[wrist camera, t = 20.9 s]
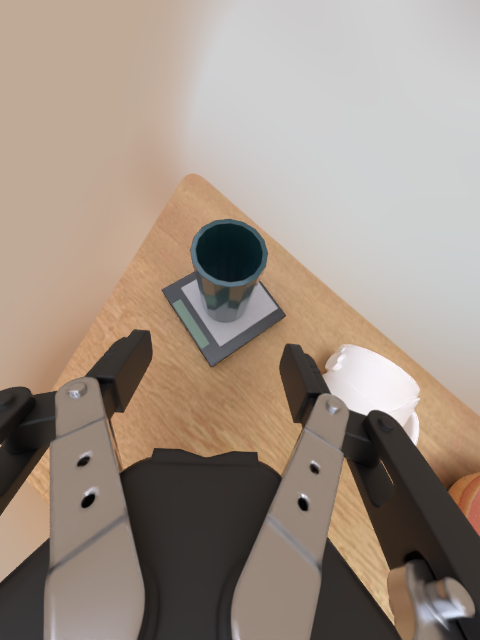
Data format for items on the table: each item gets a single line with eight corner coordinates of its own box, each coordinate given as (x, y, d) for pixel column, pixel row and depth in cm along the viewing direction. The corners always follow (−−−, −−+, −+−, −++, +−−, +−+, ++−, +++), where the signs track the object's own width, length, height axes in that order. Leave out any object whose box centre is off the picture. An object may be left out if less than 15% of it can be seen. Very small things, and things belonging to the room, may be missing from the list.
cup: (218, 331, 24) (219, 301, 14) (194, 294, 25) (176, 239, 15) (256, 307, 26) (282, 262, 15) (231, 273, 26) (239, 208, 16)
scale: (211, 367, 26) (210, 367, 23) (165, 295, 27) (159, 287, 25) (281, 319, 28) (288, 314, 26) (235, 256, 30) (236, 246, 28)
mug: (289, 403, 25) (319, 417, 18) (325, 347, 28) (366, 339, 20) (365, 466, 25) (431, 510, 17) (395, 403, 27) (466, 416, 19)
